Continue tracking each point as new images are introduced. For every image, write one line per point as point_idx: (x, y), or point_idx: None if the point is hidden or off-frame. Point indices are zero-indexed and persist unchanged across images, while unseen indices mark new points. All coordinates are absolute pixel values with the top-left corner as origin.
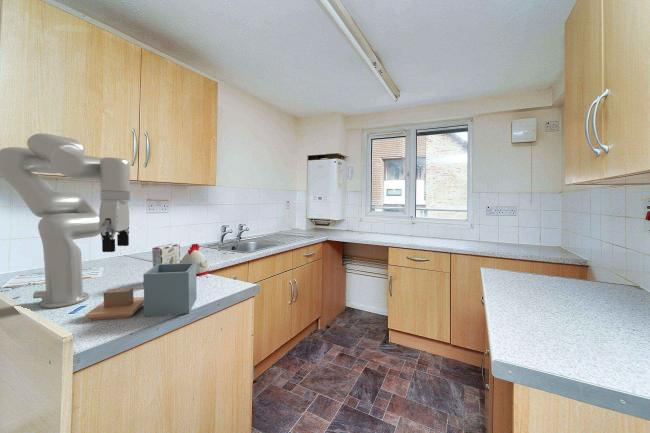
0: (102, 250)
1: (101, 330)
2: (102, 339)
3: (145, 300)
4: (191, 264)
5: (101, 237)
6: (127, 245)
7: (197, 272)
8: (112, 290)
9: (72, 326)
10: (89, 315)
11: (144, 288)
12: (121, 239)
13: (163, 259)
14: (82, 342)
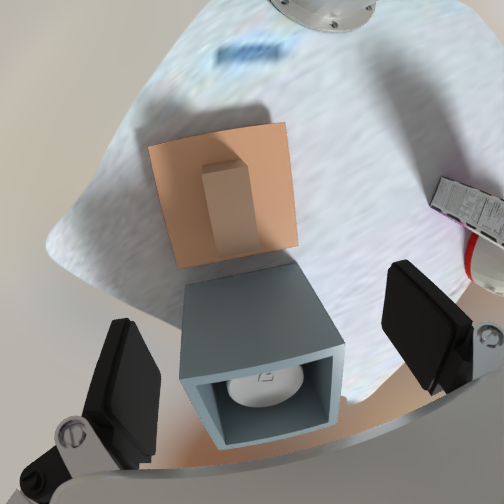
0: (111, 325)
1: (107, 228)
2: (74, 261)
3: (184, 316)
4: (327, 418)
5: (55, 437)
6: (384, 324)
7: (473, 273)
8: (231, 190)
9: (123, 133)
10: (150, 157)
11: (181, 342)
12: (415, 327)
13: (491, 240)
14: (58, 229)
